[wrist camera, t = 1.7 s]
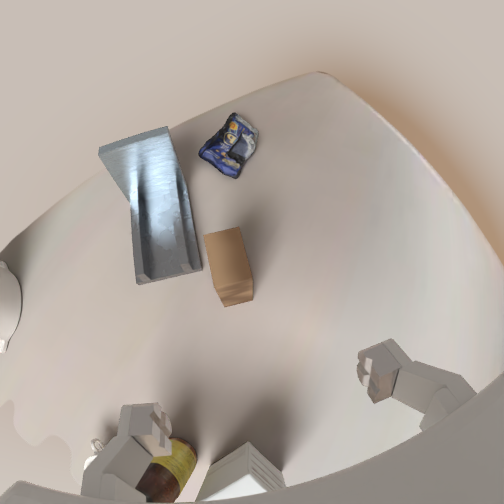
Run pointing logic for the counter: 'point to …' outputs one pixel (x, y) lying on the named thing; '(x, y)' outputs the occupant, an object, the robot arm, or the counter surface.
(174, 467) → the sauce bottle
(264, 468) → the supplement box
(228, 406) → the counter surface
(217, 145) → the snack package
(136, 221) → the track
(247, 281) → the tan wooden block
